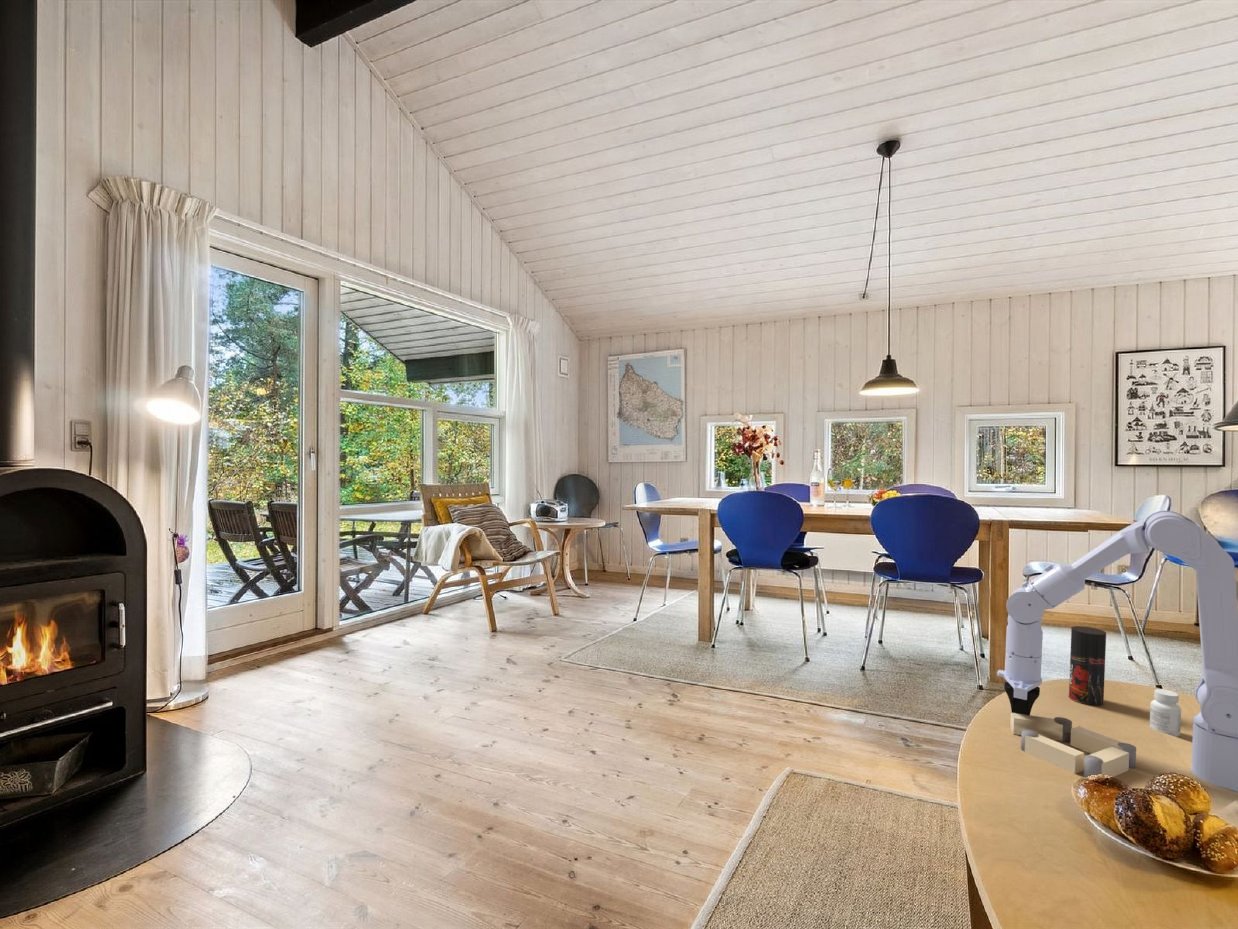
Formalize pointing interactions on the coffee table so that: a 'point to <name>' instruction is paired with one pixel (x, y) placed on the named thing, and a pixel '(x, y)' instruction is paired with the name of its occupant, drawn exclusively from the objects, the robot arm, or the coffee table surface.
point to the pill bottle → (1165, 712)
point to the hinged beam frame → (1102, 760)
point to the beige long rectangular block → (1042, 726)
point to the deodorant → (1087, 665)
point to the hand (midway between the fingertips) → (1020, 723)
